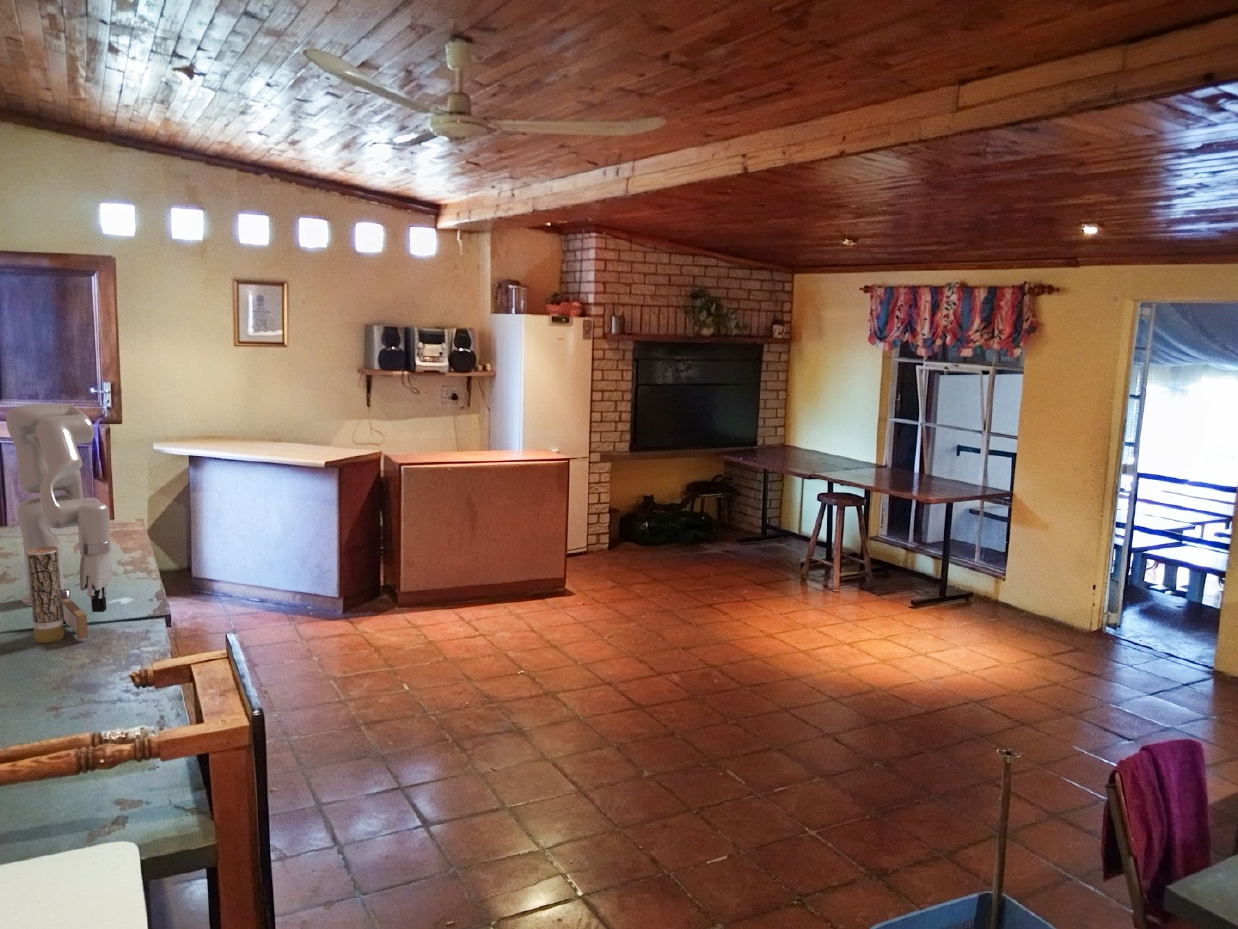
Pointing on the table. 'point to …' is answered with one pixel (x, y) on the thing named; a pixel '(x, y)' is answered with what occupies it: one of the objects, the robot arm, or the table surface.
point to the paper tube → (46, 594)
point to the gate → (75, 618)
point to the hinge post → (64, 595)
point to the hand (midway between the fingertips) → (99, 611)
